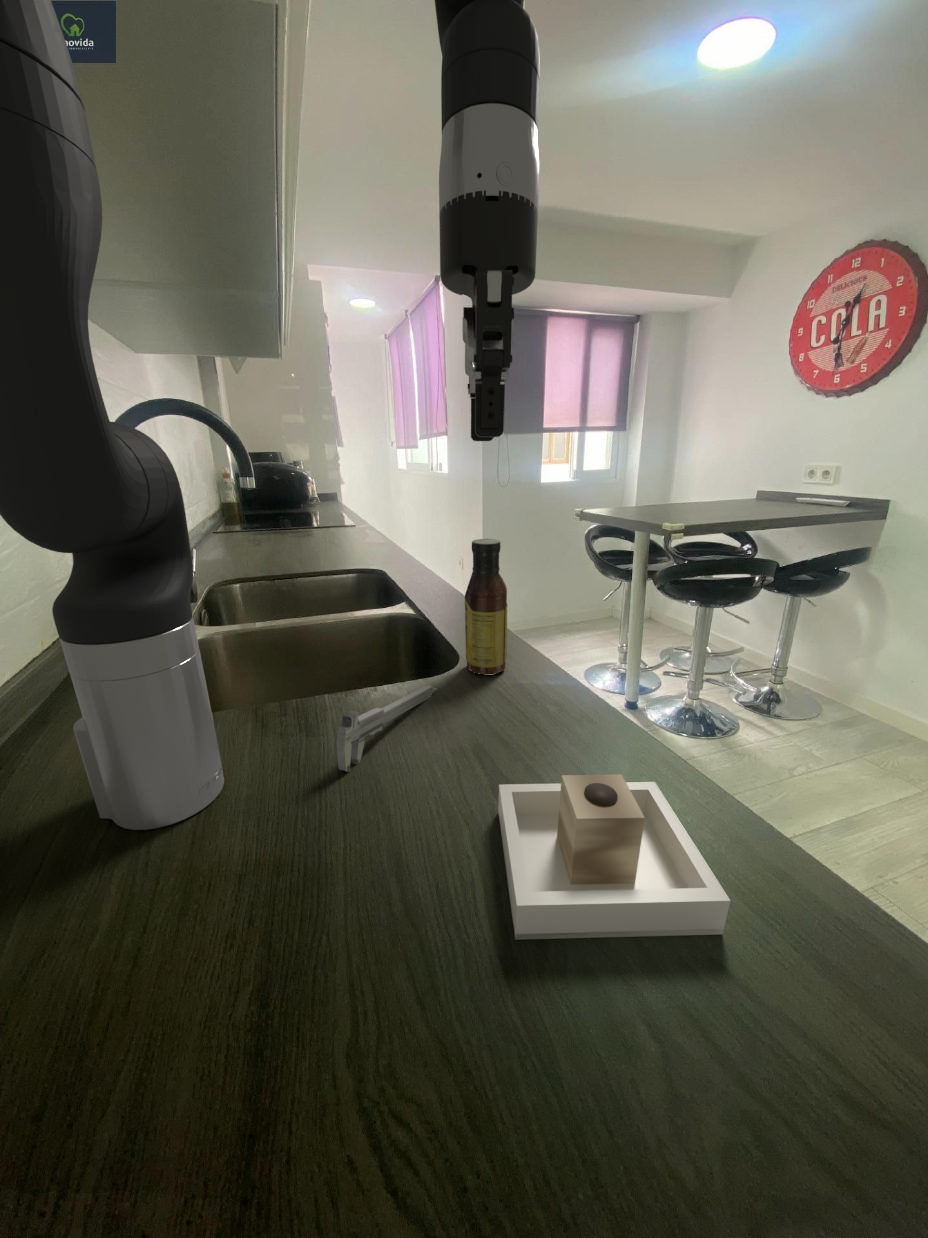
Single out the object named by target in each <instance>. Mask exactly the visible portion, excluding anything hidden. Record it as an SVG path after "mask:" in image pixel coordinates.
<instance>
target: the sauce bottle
mask: <svg viewBox="0 0 928 1238" xmlns="http://www.w3.org/2000/svg"><path fill="white" fill-rule="evenodd" d="M501 547H502V546H501V541H500V540H499V539H495V538H480V539H479V538H478V539H477V538H476V539H474V540H472V541H471V552H472V563H473V564H472V573H471V575H470V578H469V582H468V584H467V588H466V591H465V593H464V619H465V620H464V624H465V625H464V626H465V628H464V629H465V630H464V631H465V660H466V667H467V668H469V669H470V670H472V671H473V672H475V673H480V674H494V673H497V672H500V671H502V670H504V669H505V670H506V666H507V665H506V664H507V663H506V661H507V656H508V651H507V650H508V603H507V602H508V590H507V589H508V587H507V585H506V583H505V581H504V579H503V578H502V576H501V574H500V552H501ZM469 669H468V670H469ZM505 670H504V671H505ZM472 671H471V672H472ZM473 672H472V673H473ZM475 673H474V674H475Z"/></svg>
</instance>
